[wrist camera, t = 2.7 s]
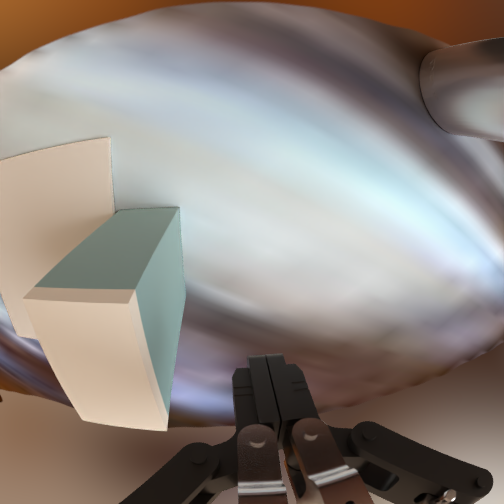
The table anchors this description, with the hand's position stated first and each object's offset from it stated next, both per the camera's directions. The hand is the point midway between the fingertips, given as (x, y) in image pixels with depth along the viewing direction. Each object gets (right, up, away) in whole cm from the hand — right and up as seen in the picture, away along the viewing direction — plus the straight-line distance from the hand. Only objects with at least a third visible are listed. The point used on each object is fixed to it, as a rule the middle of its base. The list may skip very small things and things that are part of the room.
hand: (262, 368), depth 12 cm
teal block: (-9, +5, +11) cm, 15 cm away
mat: (-20, +5, +10) cm, 23 cm away
